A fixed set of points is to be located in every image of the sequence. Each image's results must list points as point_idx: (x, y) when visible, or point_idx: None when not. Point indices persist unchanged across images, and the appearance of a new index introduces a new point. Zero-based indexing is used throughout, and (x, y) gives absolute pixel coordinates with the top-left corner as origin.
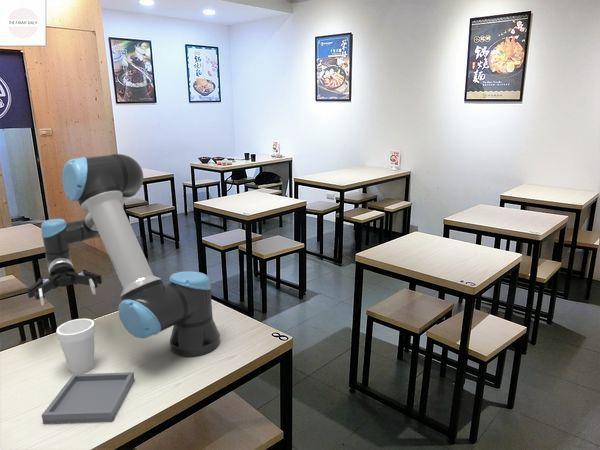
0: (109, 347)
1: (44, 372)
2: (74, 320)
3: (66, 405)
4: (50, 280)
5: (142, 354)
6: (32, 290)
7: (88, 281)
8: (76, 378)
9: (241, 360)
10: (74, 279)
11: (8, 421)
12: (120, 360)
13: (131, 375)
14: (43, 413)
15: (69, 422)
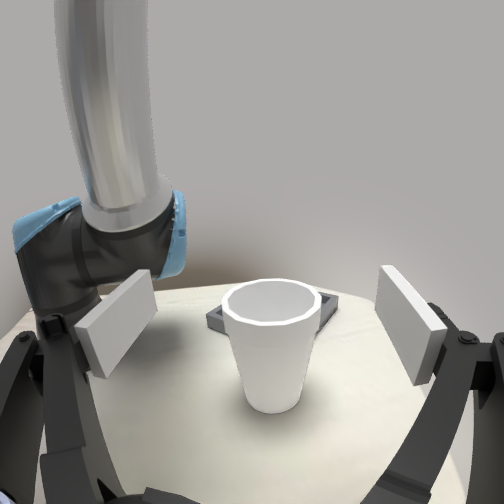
0: (188, 436)
1: (355, 411)
2: (267, 322)
3: None
4: (409, 485)
5: (154, 372)
6: (489, 355)
7: (80, 376)
8: None
9: None
10: (113, 491)
11: None
12: (196, 378)
13: (212, 310)
14: (336, 296)
15: None
